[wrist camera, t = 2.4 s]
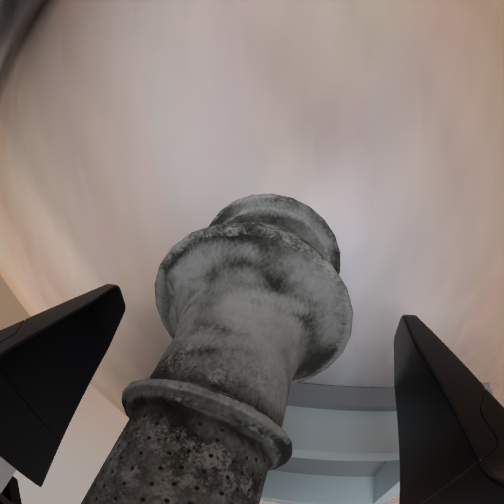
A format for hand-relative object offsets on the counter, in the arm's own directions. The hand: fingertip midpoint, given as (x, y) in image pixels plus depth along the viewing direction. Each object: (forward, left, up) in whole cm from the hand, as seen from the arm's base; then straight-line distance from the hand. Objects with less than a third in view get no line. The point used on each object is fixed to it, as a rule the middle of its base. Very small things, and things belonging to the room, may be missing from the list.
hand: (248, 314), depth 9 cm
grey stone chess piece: (0, 0, -4) cm, 4 cm away
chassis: (-4, +13, -3) cm, 14 cm away
